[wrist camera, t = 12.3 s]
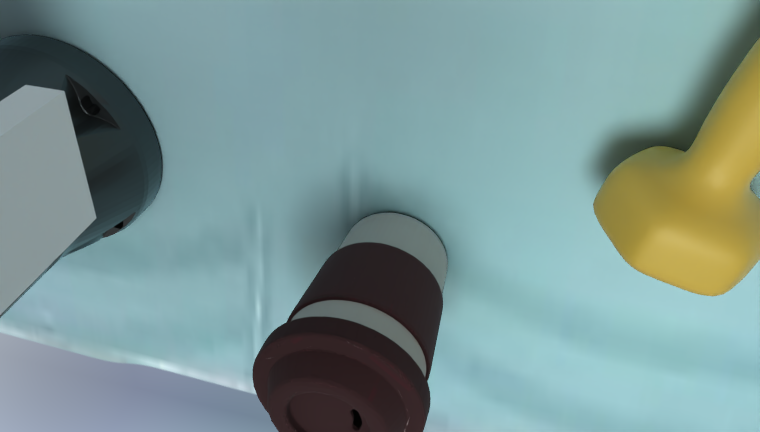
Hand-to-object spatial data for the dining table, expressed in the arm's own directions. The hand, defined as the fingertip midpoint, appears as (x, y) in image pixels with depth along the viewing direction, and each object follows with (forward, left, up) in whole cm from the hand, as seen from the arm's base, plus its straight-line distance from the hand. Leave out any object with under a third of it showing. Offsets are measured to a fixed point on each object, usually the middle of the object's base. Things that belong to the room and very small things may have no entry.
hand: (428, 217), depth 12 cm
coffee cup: (-6, -24, -28) cm, 37 cm away
